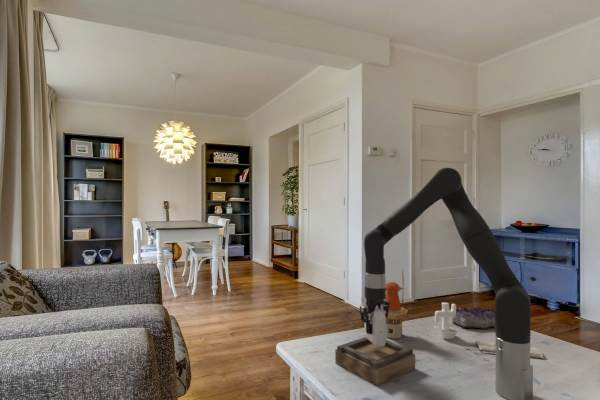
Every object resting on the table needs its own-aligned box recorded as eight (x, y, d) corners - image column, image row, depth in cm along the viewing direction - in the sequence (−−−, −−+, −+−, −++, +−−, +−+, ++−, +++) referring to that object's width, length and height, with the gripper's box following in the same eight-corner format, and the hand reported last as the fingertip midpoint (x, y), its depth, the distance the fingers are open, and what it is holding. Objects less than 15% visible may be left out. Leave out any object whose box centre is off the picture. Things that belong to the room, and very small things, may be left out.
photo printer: (387, 346, 124) (387, 310, 124) (376, 347, 123) (376, 312, 123) (373, 335, 134) (373, 302, 134) (362, 336, 133) (362, 303, 133)
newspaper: (480, 354, 139) (480, 348, 140) (475, 346, 151) (475, 339, 151) (547, 363, 132) (547, 356, 132) (537, 353, 143) (537, 346, 144)
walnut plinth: (415, 368, 126) (415, 350, 126) (377, 385, 114) (377, 365, 114) (372, 349, 142) (372, 333, 142) (335, 363, 130) (335, 345, 130)
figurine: (431, 334, 159) (431, 300, 159) (450, 333, 160) (450, 300, 160) (439, 340, 152) (439, 305, 152) (460, 339, 153) (460, 304, 153)
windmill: (415, 344, 148) (416, 272, 148) (381, 344, 147) (381, 272, 148) (403, 329, 165) (403, 264, 165) (372, 329, 165) (373, 264, 165)
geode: (489, 321, 177) (491, 302, 175) (502, 333, 165) (504, 312, 164) (448, 319, 177) (450, 300, 175) (458, 331, 165) (460, 311, 164)
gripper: (369, 290, 121) (369, 339, 121) (396, 284, 130) (396, 330, 130) (353, 285, 127) (353, 333, 127) (380, 280, 136) (380, 325, 136)
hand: (375, 331), depth 128 cm, fingers closed on photo printer, 5 cm apart
